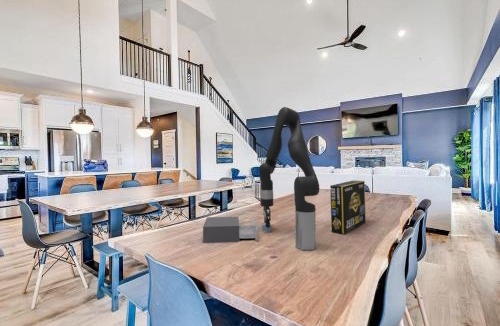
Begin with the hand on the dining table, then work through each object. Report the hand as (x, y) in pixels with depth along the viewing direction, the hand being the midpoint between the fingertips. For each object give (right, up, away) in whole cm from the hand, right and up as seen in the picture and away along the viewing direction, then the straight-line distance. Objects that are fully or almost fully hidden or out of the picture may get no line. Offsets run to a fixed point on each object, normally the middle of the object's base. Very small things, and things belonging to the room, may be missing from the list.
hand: (266, 225), depth 149 cm
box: (+49, -3, +5) cm, 50 cm away
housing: (-25, -3, -10) cm, 27 cm away
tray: (-15, -3, -9) cm, 18 cm away
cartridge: (0, -3, -1) cm, 3 cm away
